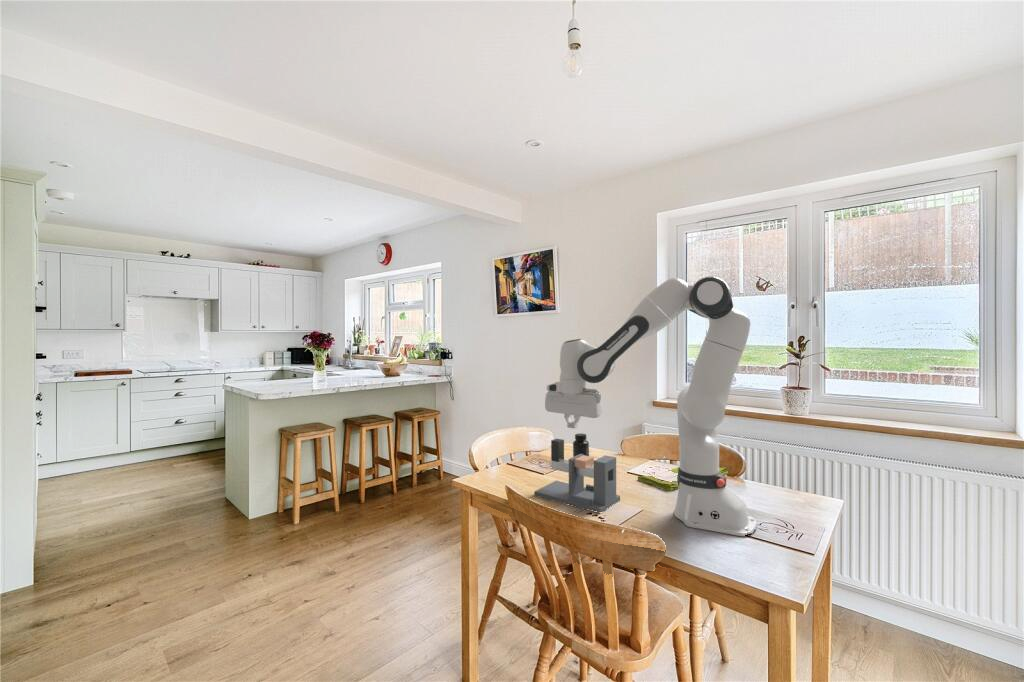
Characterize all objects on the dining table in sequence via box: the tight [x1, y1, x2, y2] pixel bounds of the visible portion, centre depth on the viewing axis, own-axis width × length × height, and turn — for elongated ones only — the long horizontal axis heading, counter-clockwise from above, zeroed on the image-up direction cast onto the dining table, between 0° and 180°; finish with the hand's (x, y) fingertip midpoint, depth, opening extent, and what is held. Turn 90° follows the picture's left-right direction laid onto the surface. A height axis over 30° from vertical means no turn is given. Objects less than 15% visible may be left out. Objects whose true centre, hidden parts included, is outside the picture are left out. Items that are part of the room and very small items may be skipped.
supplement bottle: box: [572, 433, 590, 457], centre depth 192 cm, size 7×7×12 cm
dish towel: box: [637, 466, 729, 492], centre depth 172 cm, size 15×36×3 cm, turn 123°
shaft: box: [550, 438, 594, 479], centre depth 151 cm, size 19×4×10 cm, turn 52°
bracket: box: [534, 454, 621, 513], centre depth 151 cm, size 25×14×15 cm, turn 52°
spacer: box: [574, 455, 595, 469], centre depth 149 cm, size 4×6×2 cm, turn 142°
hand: (572, 427), depth 152 cm, fingers closed
